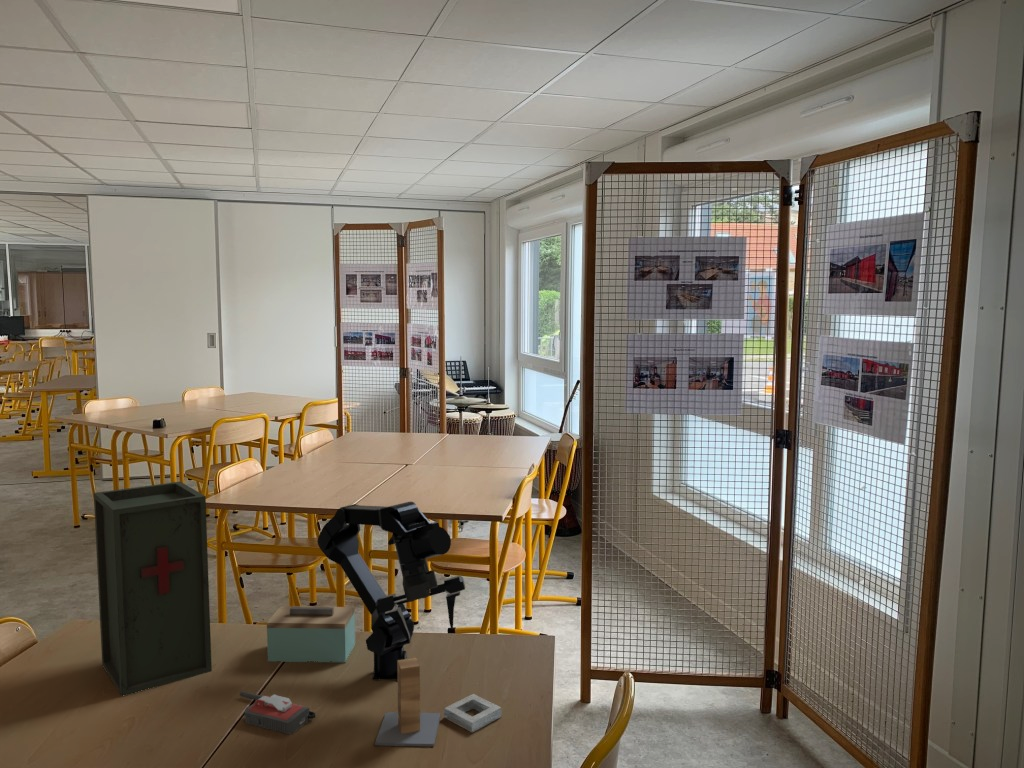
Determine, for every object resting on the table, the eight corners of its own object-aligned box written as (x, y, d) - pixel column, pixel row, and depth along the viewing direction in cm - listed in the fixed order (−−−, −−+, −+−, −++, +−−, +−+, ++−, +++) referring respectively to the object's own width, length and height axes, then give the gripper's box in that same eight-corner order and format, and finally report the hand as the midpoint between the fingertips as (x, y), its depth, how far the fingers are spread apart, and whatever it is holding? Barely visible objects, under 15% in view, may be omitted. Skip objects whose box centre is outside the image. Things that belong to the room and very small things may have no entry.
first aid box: (122, 696, 162) (113, 509, 158) (102, 665, 176) (93, 492, 172) (211, 670, 174) (205, 496, 170) (186, 643, 188) (180, 481, 184)
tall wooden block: (398, 724, 151) (397, 660, 150) (416, 721, 152) (415, 657, 151) (401, 734, 148) (400, 668, 146) (420, 730, 149) (419, 665, 147)
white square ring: (444, 717, 154) (444, 708, 154) (473, 702, 160) (473, 693, 160) (472, 732, 149) (472, 722, 149) (501, 716, 155) (501, 707, 155)
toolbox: (267, 661, 179) (266, 616, 177) (281, 642, 188) (280, 599, 187) (345, 662, 178) (344, 617, 177) (355, 643, 188) (354, 600, 187)
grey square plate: (375, 745, 145) (375, 742, 144) (385, 714, 155) (385, 712, 155) (433, 746, 144) (433, 743, 144) (440, 715, 155) (440, 713, 155)
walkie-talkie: (323, 716, 155) (244, 697, 163) (322, 695, 155) (243, 676, 163) (294, 738, 147) (213, 717, 155) (294, 716, 147) (212, 696, 155)
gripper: (364, 576, 156) (382, 654, 154) (454, 551, 158) (473, 628, 155) (371, 572, 167) (389, 645, 165) (455, 549, 169) (474, 620, 166)
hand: (430, 635), depth 162 cm, fingers open, 9 cm apart
